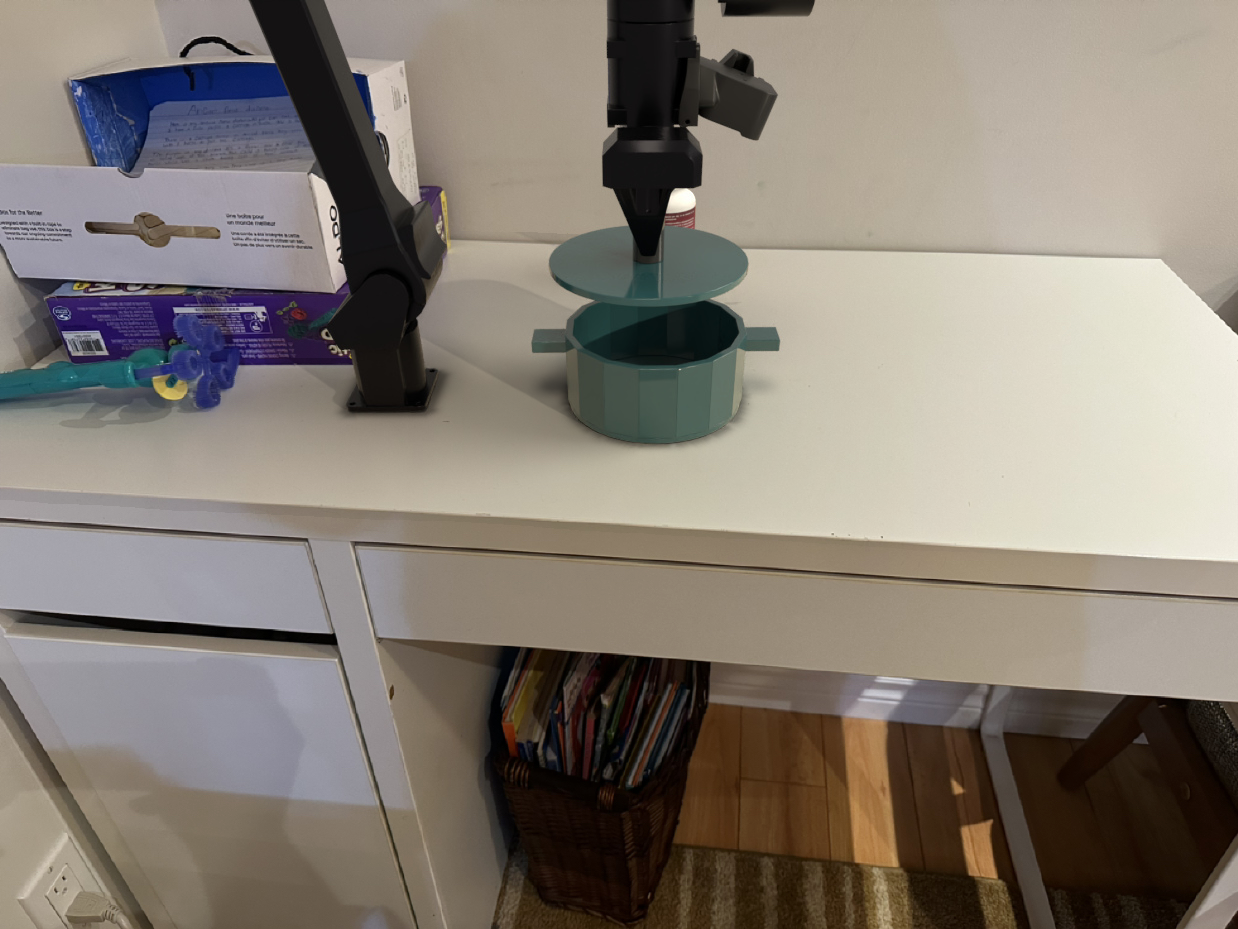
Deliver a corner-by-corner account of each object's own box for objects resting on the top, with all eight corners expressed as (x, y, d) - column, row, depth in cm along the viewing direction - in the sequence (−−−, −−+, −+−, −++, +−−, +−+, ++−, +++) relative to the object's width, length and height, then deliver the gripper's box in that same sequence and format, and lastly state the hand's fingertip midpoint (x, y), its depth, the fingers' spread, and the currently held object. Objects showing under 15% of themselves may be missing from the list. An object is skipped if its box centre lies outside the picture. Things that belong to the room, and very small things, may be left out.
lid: (759, 314, 59) (767, 227, 55) (541, 315, 59) (535, 228, 55) (736, 237, 71) (741, 162, 68) (556, 238, 71) (552, 163, 68)
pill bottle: (704, 272, 92) (710, 170, 86) (666, 288, 89) (668, 183, 83) (663, 257, 96) (665, 158, 90) (625, 272, 93) (624, 170, 86)
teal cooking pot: (784, 443, 65) (794, 368, 61) (529, 444, 65) (523, 370, 61) (760, 356, 76) (766, 289, 72) (543, 358, 76) (539, 291, 73)
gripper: (798, 39, 47) (771, 299, 56) (756, -1, 62) (740, 208, 71) (599, 40, 47) (604, 299, 56) (606, 0, 63) (609, 209, 72)
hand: (647, 248), depth 64 cm, fingers closed on lid, 2 cm apart
